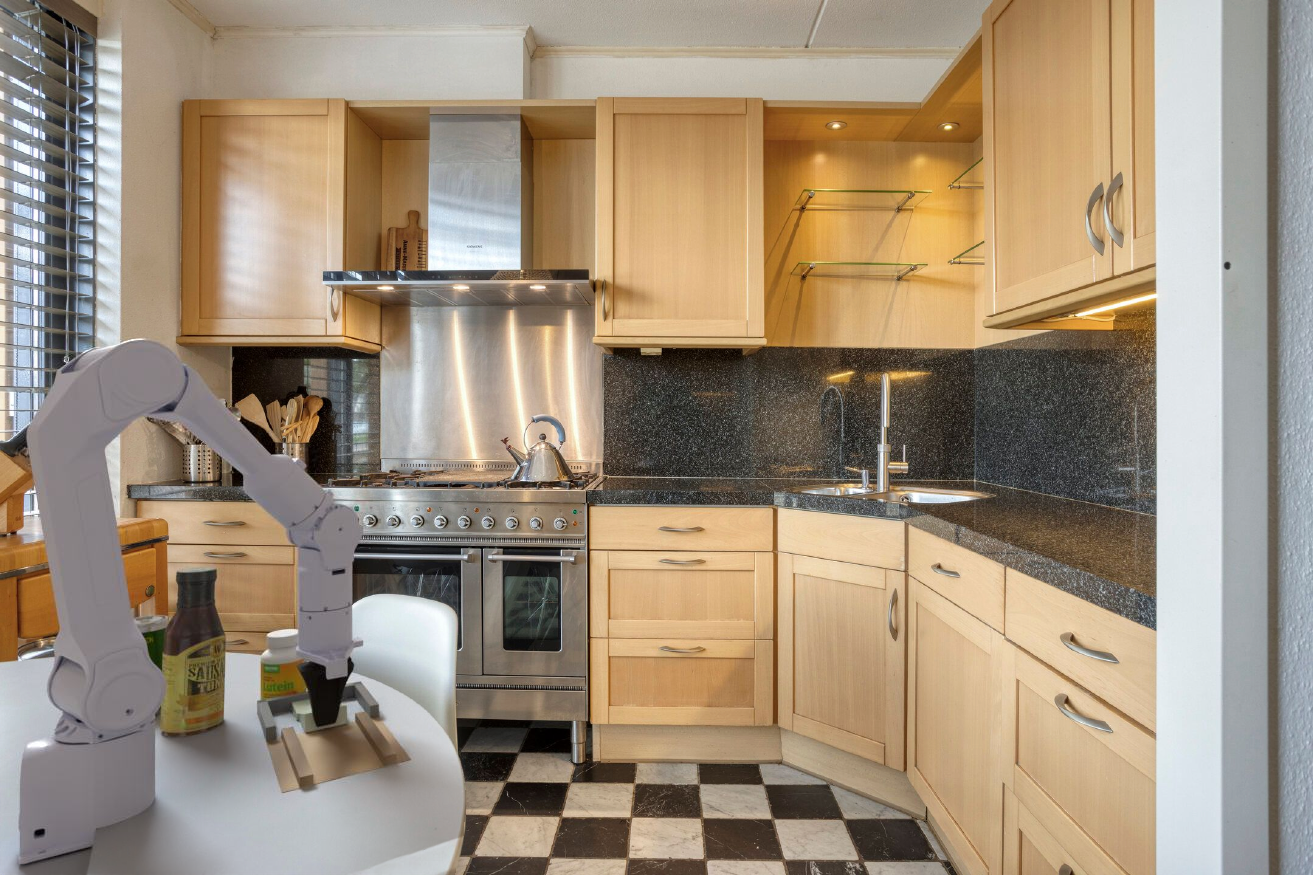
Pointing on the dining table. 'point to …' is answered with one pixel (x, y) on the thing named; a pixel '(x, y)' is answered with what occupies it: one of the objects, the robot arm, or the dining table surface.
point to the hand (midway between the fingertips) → (325, 723)
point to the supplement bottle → (281, 665)
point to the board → (333, 752)
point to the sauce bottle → (194, 658)
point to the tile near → (309, 725)
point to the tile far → (301, 707)
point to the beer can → (153, 638)
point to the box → (285, 702)
